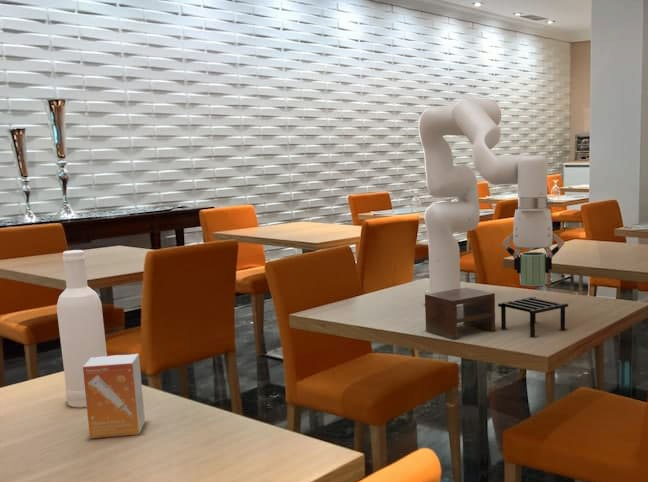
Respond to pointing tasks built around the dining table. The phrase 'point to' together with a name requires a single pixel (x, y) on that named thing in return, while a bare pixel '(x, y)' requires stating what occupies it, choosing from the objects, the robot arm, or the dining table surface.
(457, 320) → the shelf
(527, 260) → the cup
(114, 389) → the small box
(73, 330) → the bottle
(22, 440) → the dining table surface
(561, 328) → the rack
